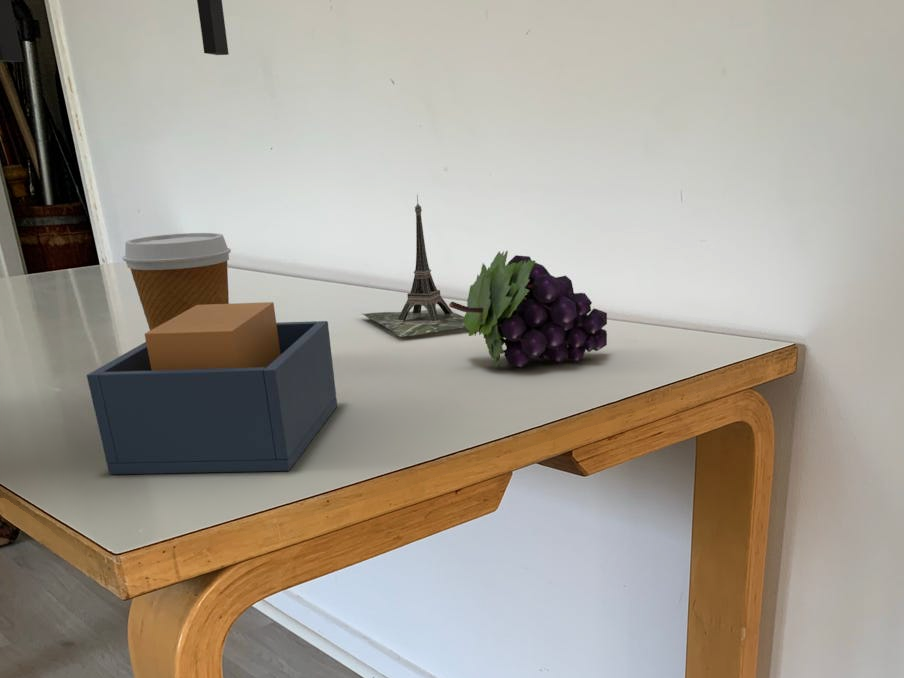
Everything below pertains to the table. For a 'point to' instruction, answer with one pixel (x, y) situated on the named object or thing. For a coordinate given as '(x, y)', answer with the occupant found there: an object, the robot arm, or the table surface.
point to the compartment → (216, 409)
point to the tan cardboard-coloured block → (216, 338)
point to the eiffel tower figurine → (420, 300)
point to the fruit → (531, 313)
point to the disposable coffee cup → (178, 273)
